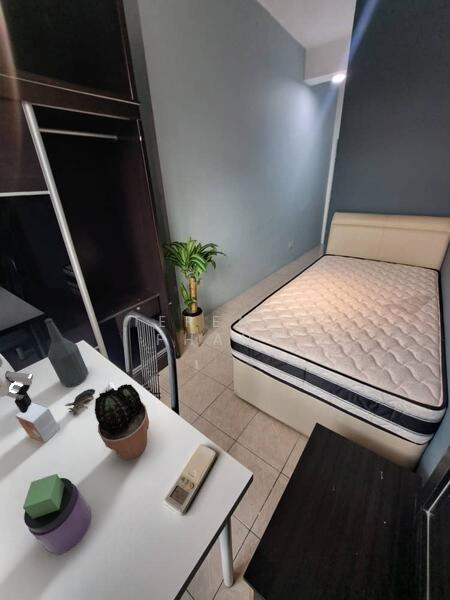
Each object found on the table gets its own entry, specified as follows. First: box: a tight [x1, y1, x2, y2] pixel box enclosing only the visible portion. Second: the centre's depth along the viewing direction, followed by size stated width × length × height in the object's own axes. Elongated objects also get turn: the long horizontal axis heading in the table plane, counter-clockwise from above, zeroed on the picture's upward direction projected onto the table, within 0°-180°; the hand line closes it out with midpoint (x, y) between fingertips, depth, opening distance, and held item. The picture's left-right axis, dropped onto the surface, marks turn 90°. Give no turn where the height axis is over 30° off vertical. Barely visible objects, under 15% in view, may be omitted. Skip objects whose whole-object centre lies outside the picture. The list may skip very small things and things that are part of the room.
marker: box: [107, 381, 117, 390], centre depth 95 cm, size 18×2×2 cm, turn 41°
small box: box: [15, 401, 61, 444], centre depth 81 cm, size 8×6×10 cm
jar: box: [27, 482, 92, 555], centre depth 58 cm, size 10×10×12 cm
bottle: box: [44, 317, 89, 388], centre depth 98 cm, size 10×10×30 cm
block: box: [22, 473, 65, 519], centre depth 54 cm, size 5×5×5 cm
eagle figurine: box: [64, 388, 96, 416], centre depth 91 cm, size 8×7×9 cm
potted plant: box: [94, 383, 150, 460], centre depth 72 cm, size 14×14×25 cm
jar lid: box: [23, 477, 77, 533], centre depth 55 cm, size 10×9×2 cm
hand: (1, 413), depth 53 cm, fingers open, 9 cm apart
